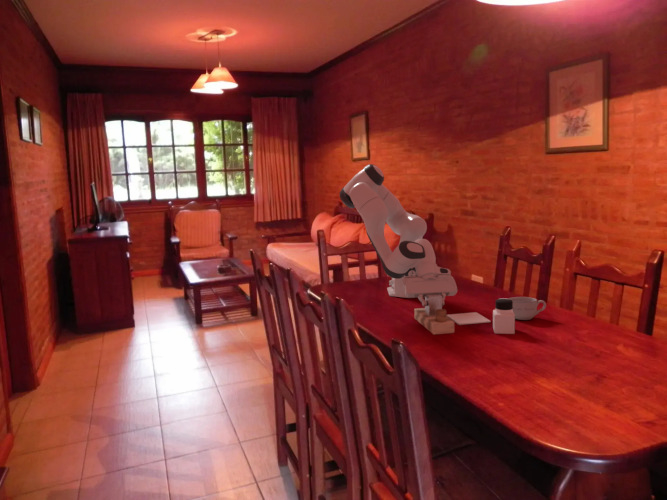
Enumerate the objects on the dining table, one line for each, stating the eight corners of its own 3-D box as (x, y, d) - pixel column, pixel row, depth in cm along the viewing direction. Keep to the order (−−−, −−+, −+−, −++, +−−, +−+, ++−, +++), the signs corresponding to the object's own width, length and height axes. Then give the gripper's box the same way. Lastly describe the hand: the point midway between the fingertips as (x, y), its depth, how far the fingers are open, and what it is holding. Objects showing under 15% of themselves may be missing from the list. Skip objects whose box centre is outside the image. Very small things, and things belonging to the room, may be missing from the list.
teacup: (505, 320, 210) (506, 300, 209) (510, 313, 220) (511, 294, 218) (543, 324, 204) (544, 303, 202) (546, 316, 213) (547, 297, 212)
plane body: (414, 318, 217) (414, 299, 216) (433, 316, 219) (433, 297, 217) (433, 334, 196) (433, 313, 195) (454, 332, 197) (454, 311, 196)
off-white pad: (446, 315, 219) (446, 314, 219) (476, 313, 221) (476, 312, 221) (459, 324, 206) (459, 323, 206) (490, 322, 209) (490, 320, 209)
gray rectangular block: (425, 313, 209) (424, 294, 207) (437, 312, 210) (437, 293, 208) (429, 317, 204) (429, 297, 203) (441, 316, 205) (441, 296, 203)
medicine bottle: (515, 334, 193) (515, 302, 191) (494, 333, 195) (494, 301, 193) (512, 328, 200) (513, 297, 198) (492, 327, 201) (493, 296, 200)
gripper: (402, 271, 211) (407, 302, 202) (454, 269, 211) (461, 299, 203) (401, 280, 216) (405, 310, 208) (451, 278, 217) (457, 307, 208)
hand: (433, 305), depth 205 cm, fingers closed on gray rectangular block, 5 cm apart
